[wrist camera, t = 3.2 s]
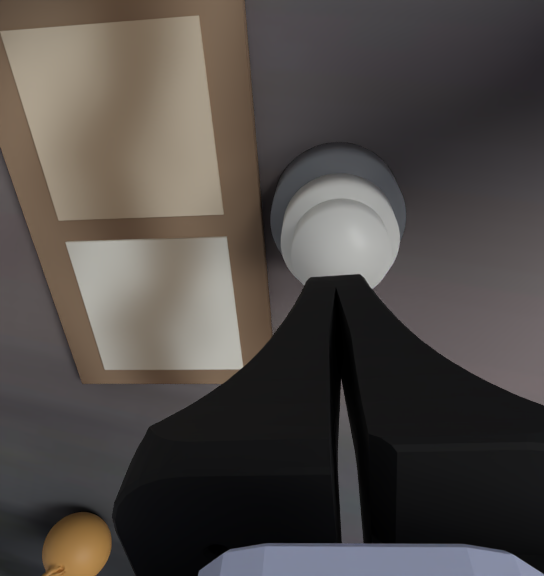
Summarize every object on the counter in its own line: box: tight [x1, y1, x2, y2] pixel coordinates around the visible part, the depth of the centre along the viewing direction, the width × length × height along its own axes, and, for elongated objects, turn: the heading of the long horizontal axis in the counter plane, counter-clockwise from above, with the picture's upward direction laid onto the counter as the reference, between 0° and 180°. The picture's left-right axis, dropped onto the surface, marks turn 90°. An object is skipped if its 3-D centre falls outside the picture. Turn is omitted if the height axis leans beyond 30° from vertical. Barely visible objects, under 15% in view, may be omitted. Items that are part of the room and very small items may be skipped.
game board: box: [0, 0, 272, 384], centre depth 18 cm, size 10×25×1 cm, turn 4°
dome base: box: [270, 142, 406, 256], centre depth 19 cm, size 5×5×2 cm
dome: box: [281, 173, 400, 289], centre depth 16 cm, size 4×4×2 cm
